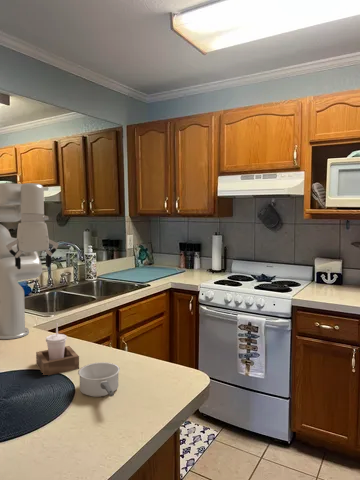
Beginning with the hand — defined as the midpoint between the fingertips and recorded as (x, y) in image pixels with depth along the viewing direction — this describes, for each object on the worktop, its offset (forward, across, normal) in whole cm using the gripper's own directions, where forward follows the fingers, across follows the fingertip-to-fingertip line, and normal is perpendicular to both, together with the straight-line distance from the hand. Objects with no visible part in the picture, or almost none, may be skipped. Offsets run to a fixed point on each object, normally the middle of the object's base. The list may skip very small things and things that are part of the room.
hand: (33, 267), depth 127 cm
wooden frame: (+30, -4, +17) cm, 35 cm away
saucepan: (+31, -9, +43) cm, 54 cm away
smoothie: (+31, -3, +17) cm, 35 cm away
